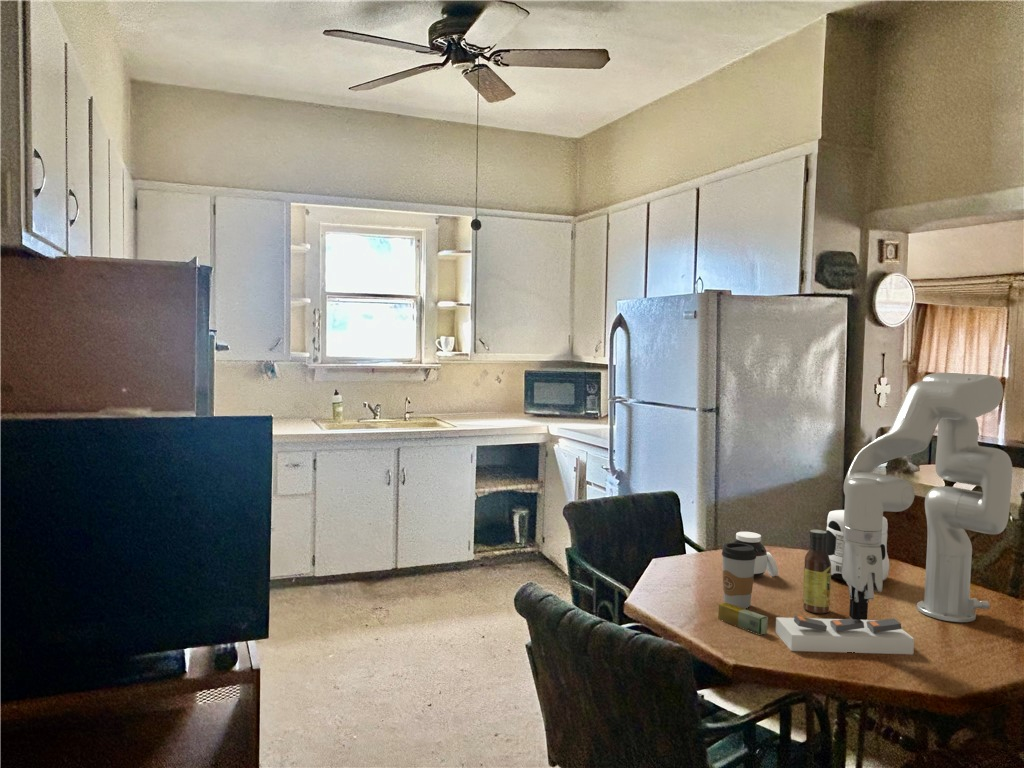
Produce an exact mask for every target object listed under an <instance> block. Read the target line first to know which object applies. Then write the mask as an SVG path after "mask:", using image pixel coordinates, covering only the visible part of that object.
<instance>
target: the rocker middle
mask: <svg viewBox="0 0 1024 768" xmlns="http://www.w3.org/2000/svg"><path fill="white" fill-rule="evenodd" d="M841 619H842V620H835V621H830V624H831V627H832V628H833V629H834V630H835V631H836V632H839V631H846V630H853V629H860V628H864V622H862V621H861V620H854V619H852V618H851V617H850V618H841Z"/></svg>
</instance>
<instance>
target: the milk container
mask: <svg viewBox="0 0 1024 768" xmlns="http://www.w3.org/2000/svg"><path fill="white" fill-rule="evenodd" d="M826 523H827V524H826V532H827V539H826V549H827V553H828V556H829V559H830V562H831V578H833V579H838V580H841V581H843V582H846V581H845V580H844V579H843V577H842V558H843V549H844V542H845V541H843V530H844V509H836V510H835V509H834V510H831V511H829V512H828V515H827V520H826ZM888 526H889V525H888V519H887V518H886V517H885V516H883V521H882V540H881V545H880V547H881V552H882V565H883V582H884V581H886V579H887V578H888V575H889V572H890V561H889V555H888V552H887V551H888V549H887V547H888V544H887V542H888V529H889V528H888Z"/></svg>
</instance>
